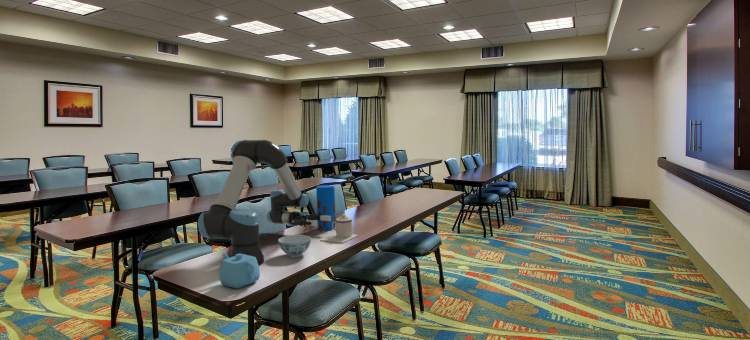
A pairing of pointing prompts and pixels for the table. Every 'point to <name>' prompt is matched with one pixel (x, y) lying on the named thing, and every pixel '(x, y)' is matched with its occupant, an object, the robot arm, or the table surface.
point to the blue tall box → (326, 206)
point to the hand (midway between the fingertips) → (324, 221)
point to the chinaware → (294, 244)
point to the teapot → (239, 270)
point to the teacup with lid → (343, 226)
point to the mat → (337, 238)
